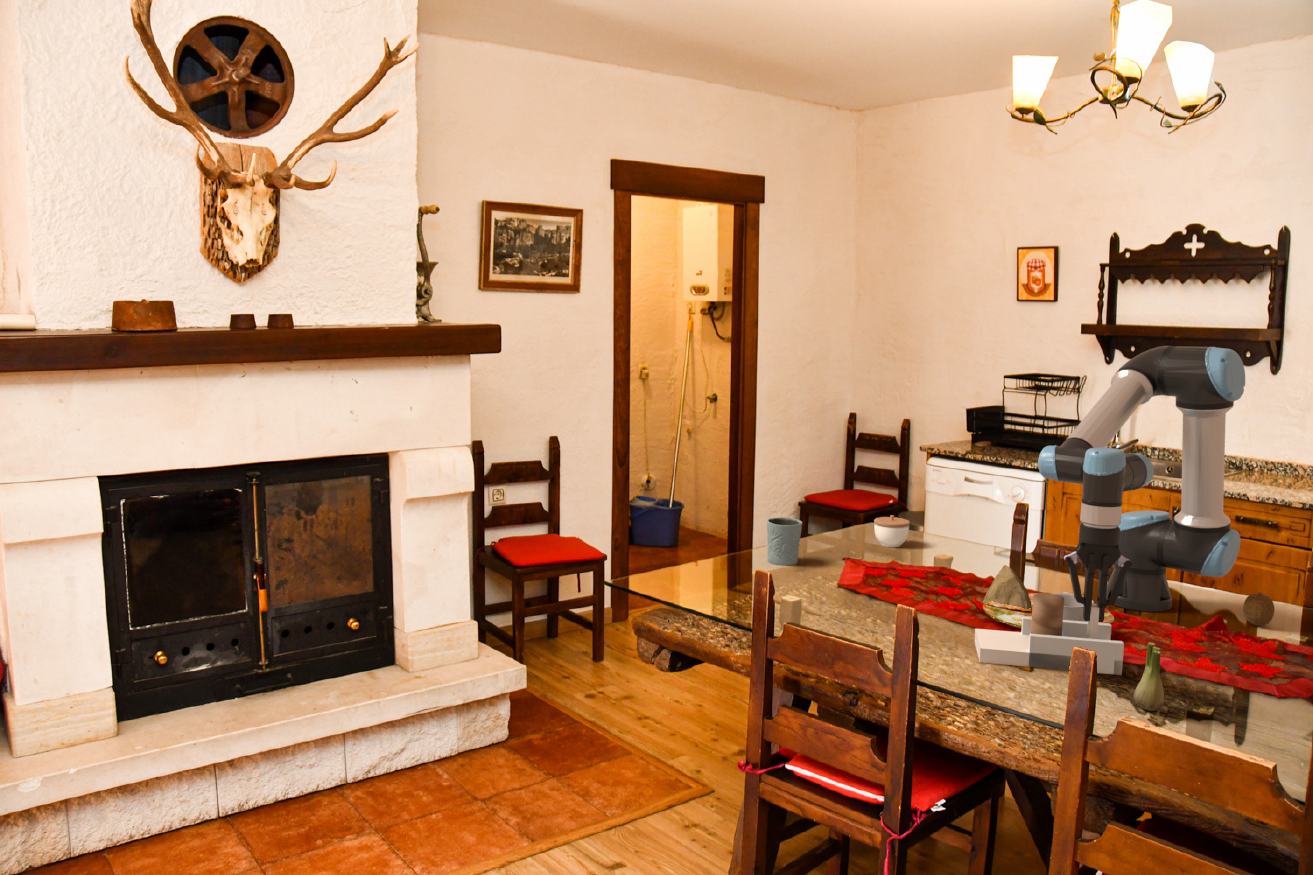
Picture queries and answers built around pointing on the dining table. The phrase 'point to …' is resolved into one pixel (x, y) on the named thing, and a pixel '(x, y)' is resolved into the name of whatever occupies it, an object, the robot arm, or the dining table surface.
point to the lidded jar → (891, 530)
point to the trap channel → (1049, 647)
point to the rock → (1008, 590)
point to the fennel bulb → (1150, 682)
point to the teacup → (1072, 607)
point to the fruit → (1258, 609)
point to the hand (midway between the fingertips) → (1092, 636)
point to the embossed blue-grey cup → (783, 540)
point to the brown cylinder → (1047, 614)
